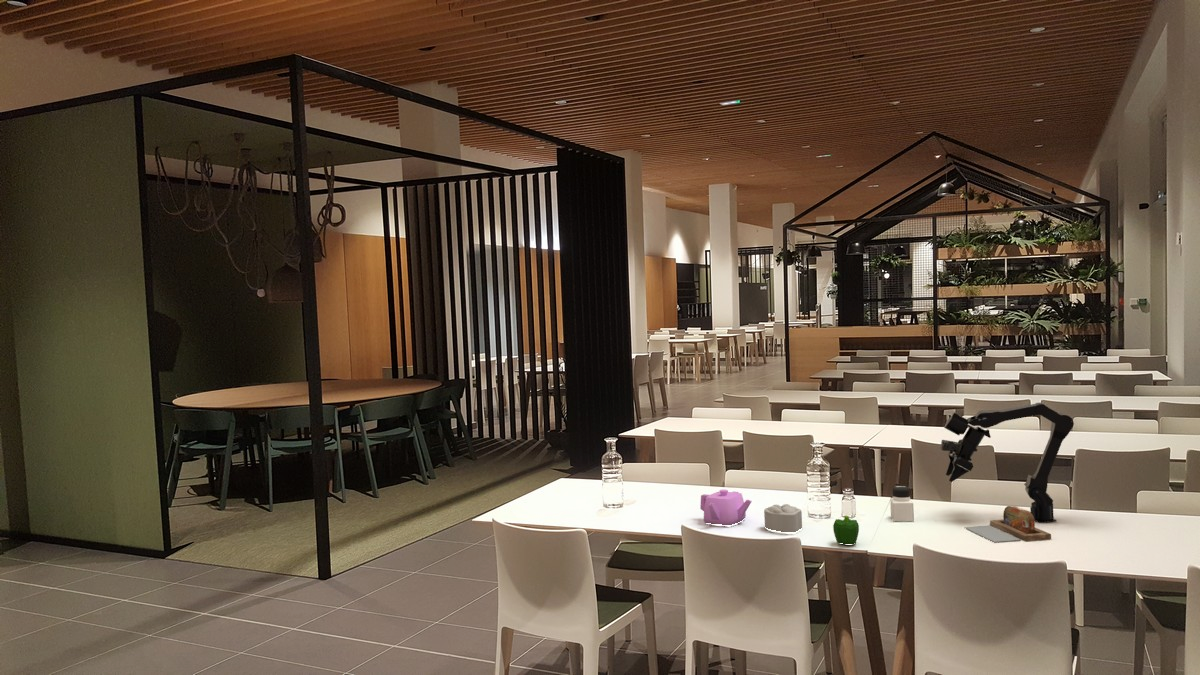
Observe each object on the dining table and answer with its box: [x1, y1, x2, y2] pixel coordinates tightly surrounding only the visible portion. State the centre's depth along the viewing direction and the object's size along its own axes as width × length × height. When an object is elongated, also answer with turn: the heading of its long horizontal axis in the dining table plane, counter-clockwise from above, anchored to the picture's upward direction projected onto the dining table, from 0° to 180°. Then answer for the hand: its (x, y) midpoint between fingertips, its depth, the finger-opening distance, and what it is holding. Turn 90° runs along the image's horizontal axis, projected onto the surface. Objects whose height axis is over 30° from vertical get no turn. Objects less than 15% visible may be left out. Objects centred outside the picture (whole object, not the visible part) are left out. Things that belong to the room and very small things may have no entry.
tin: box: [1002, 505, 1036, 534], centre depth 288 cm, size 15×3×8 cm, turn 5°
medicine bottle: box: [889, 485, 915, 522], centre depth 312 cm, size 7×7×12 cm
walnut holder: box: [989, 519, 1052, 542], centre depth 288 cm, size 9×21×2 cm, turn 5°
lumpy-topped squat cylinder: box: [763, 503, 803, 532], centre depth 306 cm, size 10×13×9 cm
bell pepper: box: [832, 515, 860, 545], centre depth 284 cm, size 8×8×10 cm
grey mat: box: [963, 524, 1022, 544], centre depth 287 cm, size 9×19×1 cm, turn 5°
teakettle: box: [699, 488, 752, 525], centre depth 321 cm, size 17×17×12 cm
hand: (948, 478), depth 311 cm, fingers open, 9 cm apart
